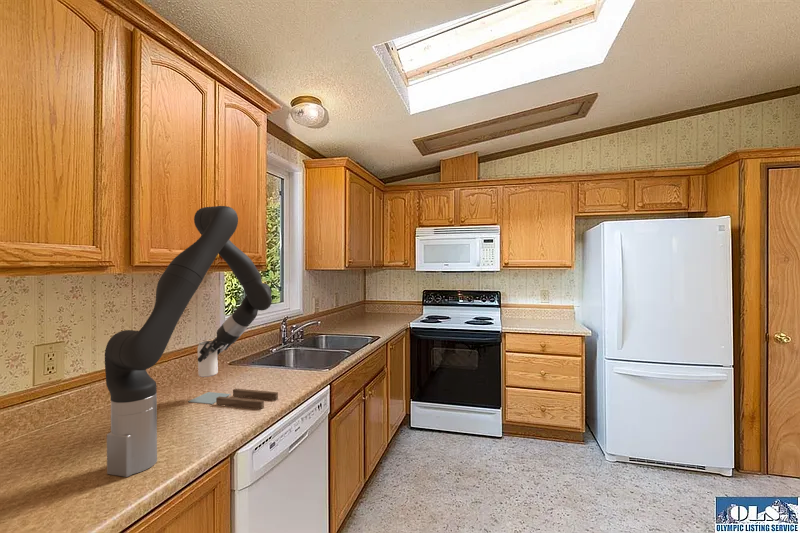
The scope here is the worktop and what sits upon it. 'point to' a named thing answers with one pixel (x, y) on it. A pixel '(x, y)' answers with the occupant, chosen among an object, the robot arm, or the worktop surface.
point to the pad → (208, 398)
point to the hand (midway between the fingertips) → (206, 359)
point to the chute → (247, 402)
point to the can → (207, 363)
